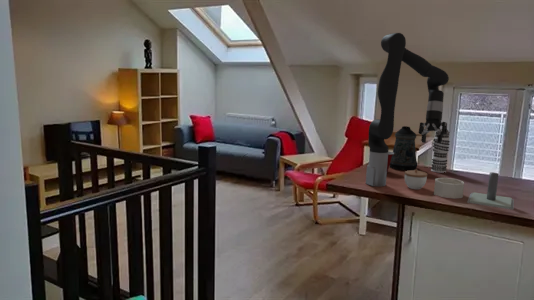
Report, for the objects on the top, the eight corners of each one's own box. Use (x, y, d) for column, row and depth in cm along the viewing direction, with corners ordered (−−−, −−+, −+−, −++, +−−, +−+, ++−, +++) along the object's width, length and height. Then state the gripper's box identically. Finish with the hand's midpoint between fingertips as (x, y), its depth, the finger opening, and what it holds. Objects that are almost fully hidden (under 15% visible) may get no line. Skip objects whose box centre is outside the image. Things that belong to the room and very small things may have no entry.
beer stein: (401, 171, 248) (404, 129, 244) (380, 164, 266) (383, 125, 261) (423, 169, 255) (427, 128, 250) (401, 163, 272) (404, 124, 268)
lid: (510, 208, 182) (514, 179, 179) (469, 202, 189) (472, 174, 187) (511, 199, 195) (514, 172, 193) (472, 193, 203) (475, 167, 201)
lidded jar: (427, 191, 208) (429, 172, 206) (404, 189, 209) (406, 171, 208) (423, 185, 218) (425, 167, 216) (402, 184, 220) (403, 166, 218)
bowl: (447, 200, 193) (449, 185, 192) (428, 192, 205) (429, 178, 203) (468, 197, 198) (470, 183, 197) (448, 190, 209) (449, 177, 208)
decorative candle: (429, 171, 250) (433, 129, 246) (431, 168, 258) (435, 127, 254) (445, 173, 246) (450, 130, 241) (447, 170, 254) (451, 129, 250)
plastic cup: (394, 173, 243) (396, 153, 241) (375, 173, 243) (377, 152, 241) (389, 169, 253) (391, 149, 251) (371, 168, 254) (372, 149, 251)
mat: (513, 210, 180) (513, 209, 180) (466, 203, 189) (467, 202, 189) (513, 200, 196) (513, 199, 196) (470, 194, 205) (470, 193, 204)
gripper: (417, 110, 218) (414, 141, 217) (443, 108, 207) (440, 141, 206) (426, 113, 223) (423, 143, 222) (451, 111, 211) (448, 144, 210)
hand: (431, 142), depth 214 cm, fingers open, 8 cm apart
